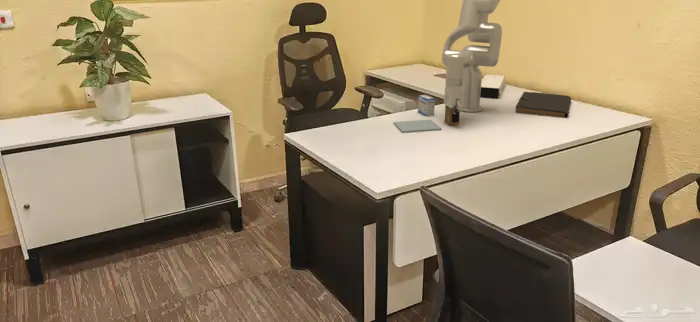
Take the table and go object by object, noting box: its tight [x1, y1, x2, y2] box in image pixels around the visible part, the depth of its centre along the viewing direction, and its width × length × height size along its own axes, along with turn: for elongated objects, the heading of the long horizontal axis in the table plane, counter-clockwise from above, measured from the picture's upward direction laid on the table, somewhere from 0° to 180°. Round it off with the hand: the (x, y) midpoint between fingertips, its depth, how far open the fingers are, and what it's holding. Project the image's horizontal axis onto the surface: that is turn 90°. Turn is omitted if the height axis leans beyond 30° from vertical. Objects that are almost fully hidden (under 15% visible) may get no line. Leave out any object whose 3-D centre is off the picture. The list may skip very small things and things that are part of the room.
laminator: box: [480, 74, 506, 100], centre depth 300 cm, size 34×12×6 cm, turn 160°
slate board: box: [393, 119, 442, 134], centre depth 240 cm, size 14×18×1 cm
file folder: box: [515, 91, 572, 119], centre depth 269 cm, size 33×4×24 cm
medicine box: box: [417, 94, 436, 117], centre depth 258 cm, size 8×4×9 cm, turn 27°
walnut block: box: [443, 105, 460, 127], centre depth 243 cm, size 5×5×8 cm
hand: (451, 119), depth 243 cm, fingers open, 7 cm apart
